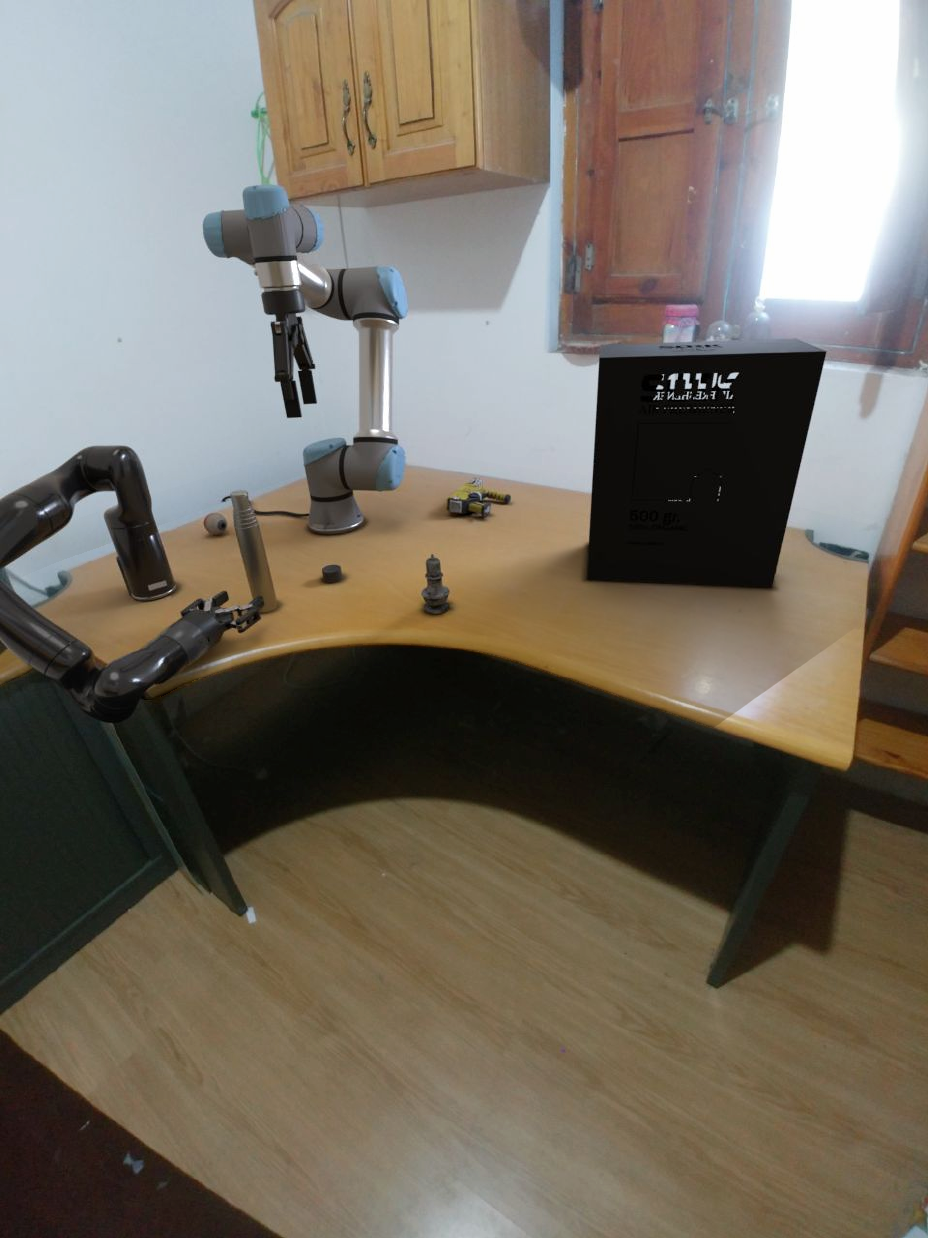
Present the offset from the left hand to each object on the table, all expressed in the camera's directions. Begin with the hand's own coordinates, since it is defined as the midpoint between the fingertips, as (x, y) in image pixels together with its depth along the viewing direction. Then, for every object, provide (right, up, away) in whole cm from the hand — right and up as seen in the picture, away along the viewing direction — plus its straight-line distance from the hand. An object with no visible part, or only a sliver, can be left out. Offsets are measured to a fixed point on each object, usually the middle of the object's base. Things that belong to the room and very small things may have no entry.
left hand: (244, 597), depth 121 cm
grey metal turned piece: (+39, -2, +4) cm, 39 cm away
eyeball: (-24, +19, +47) cm, 56 cm away
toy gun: (+50, +29, +57) cm, 81 cm away
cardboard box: (+92, +8, +16) cm, 93 cm away
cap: (+14, +5, +18) cm, 23 cm away
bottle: (+2, -2, +8) cm, 8 cm away
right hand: (+12, +37, -1) cm, 39 cm away
